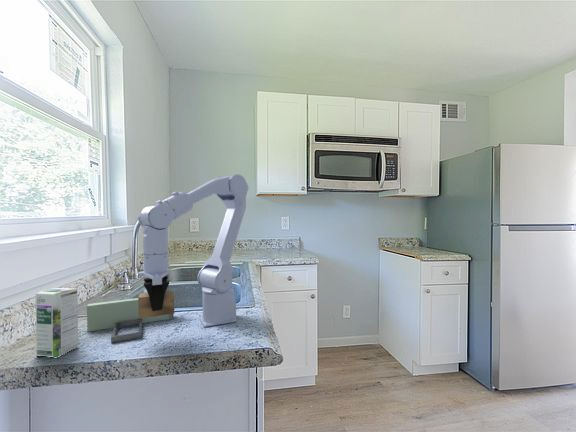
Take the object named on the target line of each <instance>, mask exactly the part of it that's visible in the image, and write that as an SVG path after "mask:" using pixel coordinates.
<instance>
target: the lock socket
mask: <svg viewBox="0 0 576 432" xmlns="http://www.w3.org/2000/svg"><path fill="white" fill-rule="evenodd" d="M136 326H138V331H135V332H129V333H123V334H117V332H118V329H122V328H128V327H129V328H130V327H136ZM142 333H143V323H142V319H137V320H131V321H124V322H117V323H115V325H114V328H112V333H111V335H110V344H114V343H120V341H121V342H126V340H127V341H131V339H133V340H136V339H137V338H138V339H142Z"/></svg>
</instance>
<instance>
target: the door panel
mask: <svg viewBox="0 0 576 432" xmlns="http://www.w3.org/2000/svg"><path fill="white" fill-rule="evenodd" d="M174 314H175V313H174ZM174 314H167V315H160V316H153V317H147V318H140V319H142V324H145V323H152V322H158V321H164V320H172V319H175V318H174V317H175V316H174ZM137 319H139V306H138V297H136V298H135V297H134V298H127V299H119V300H110V301H103V302H95V303H88V304H87V305H86V328H87V329H86V331H87V332H94V331H95V332H96V331H102V330H107V329H114V325H115V323H117V322H124V321H131V320H137Z"/></svg>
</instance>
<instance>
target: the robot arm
mask: <svg viewBox="0 0 576 432" xmlns="http://www.w3.org/2000/svg"><path fill="white" fill-rule="evenodd" d="M248 192H249V185H248V183H247V180H246V179H245V177H244V176H243V175H241V174H238V173H237V174H234V175H227V176H217V177H216V178H213V179H210V180H208V181H207V182H205V183H203V184H202V185H200V186H197V187H196V188H195V189H192V190H191V191H189V192H183V191H174V192H172V193H171V196H169V197H167V198H165V199H163V200H161V199H160V200H156V201H155V205H149V206H145V207H144V208H143V209H142V210H141V212H140V213H139V216H138V217H137V220H138V223H139V225H140V226H141V227H142V254H143V255H142V256H143V259H142V260H143V270H142V271H139V272H138V273H137V274H138V276H139V277H142V276H143V277H145V278H144V279H143V281H144V282H143V287H144V288H145V290H146V293H148V295H149V298H150V303H151V308H152V311H158V310H162V307H163V302H164V296H165V292H166V291H167V290H168V287H169V285H170V281H169V280H168V278H169V276H168V275H169V274H170V269H169V232H168V231H169V230H168V229H169V227H170V226H171V224H172V222H173V221H175V220H176V219H178V218H180V217H182V216H184V215H185V214H188V213H189V212H190V211H192V210H193V208H194V204H196V203H198V202H200V201H202V200H204V199H206V198H208V197H211V196H213V195H216V196H217V197H218V198H219V199H220V201H221V202H223V204H224V205H225V207H226V212H225V214H224V217H223V221H222V224H221V226H220V230H219V233H218V236H217V239H216V242H215V245H214V248H213V251H212V255H211V256H210V257H209V258H208V259H207V260H206V261H204V264H203V266H202V268H201V269H200V270H199V272H198V274H197V279H196V280H197V283H198V285H199V286H200V287H201V291H202V292H201V293H202V294H201V295H202V315H201V316H200V317H199V321H200V322H201V325H202V326H203V327H204V328H206V327H213V326H219V325H224V324H229V323H236V322H237V321H238V319H237V297H236V296H237V295H236V291H235V290H234V289H233V288H231V286H232V284H233V281H234V280H233V272H234V266H233V265H232V263H231V262H230V261H231V258H232V255H233V251H234V248H235V244H236V242H237V241H236V240H237V238H238V235H239V232H240V228H241V225H242V221H243V219H244V215H245V212H246V208H247V194H248Z"/></svg>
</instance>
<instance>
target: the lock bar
mask: <svg viewBox="0 0 576 432" xmlns="http://www.w3.org/2000/svg"><path fill="white" fill-rule="evenodd" d="M137 298H138V306H139V319H140V318H147V317H153V316H160V315H167V314H175V292H174V289H166V292H165V296H164V302H163V307H162V310H158V311H152V308H151V303H150V298H149V295H148V292H144V293H143V292H141V293H138V296H137Z"/></svg>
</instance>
